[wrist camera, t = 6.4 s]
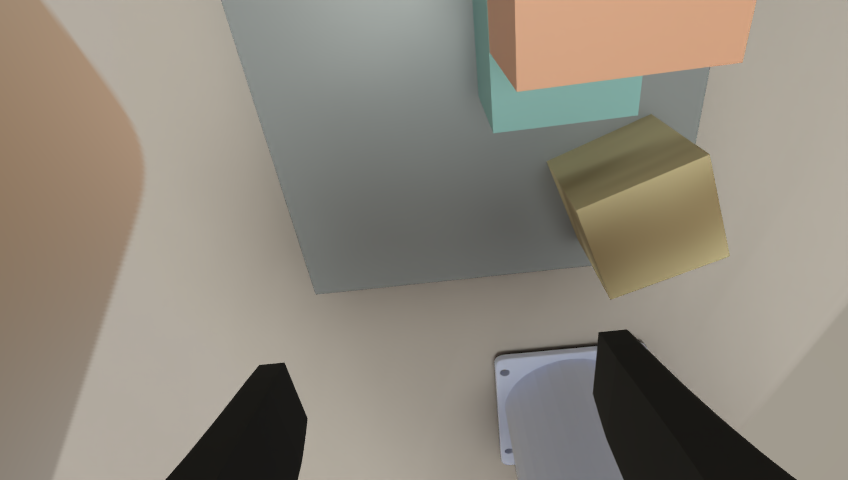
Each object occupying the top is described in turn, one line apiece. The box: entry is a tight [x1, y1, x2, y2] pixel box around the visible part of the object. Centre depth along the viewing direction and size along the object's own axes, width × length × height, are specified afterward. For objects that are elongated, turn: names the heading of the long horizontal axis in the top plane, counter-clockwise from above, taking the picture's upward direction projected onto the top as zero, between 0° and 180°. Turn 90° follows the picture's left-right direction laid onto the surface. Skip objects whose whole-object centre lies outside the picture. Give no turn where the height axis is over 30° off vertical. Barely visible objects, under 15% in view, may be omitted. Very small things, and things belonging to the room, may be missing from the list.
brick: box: [547, 114, 730, 300], centre depth 16 cm, size 4×4×4 cm
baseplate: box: [221, 0, 710, 294], centre depth 16 cm, size 20×16×1 cm
